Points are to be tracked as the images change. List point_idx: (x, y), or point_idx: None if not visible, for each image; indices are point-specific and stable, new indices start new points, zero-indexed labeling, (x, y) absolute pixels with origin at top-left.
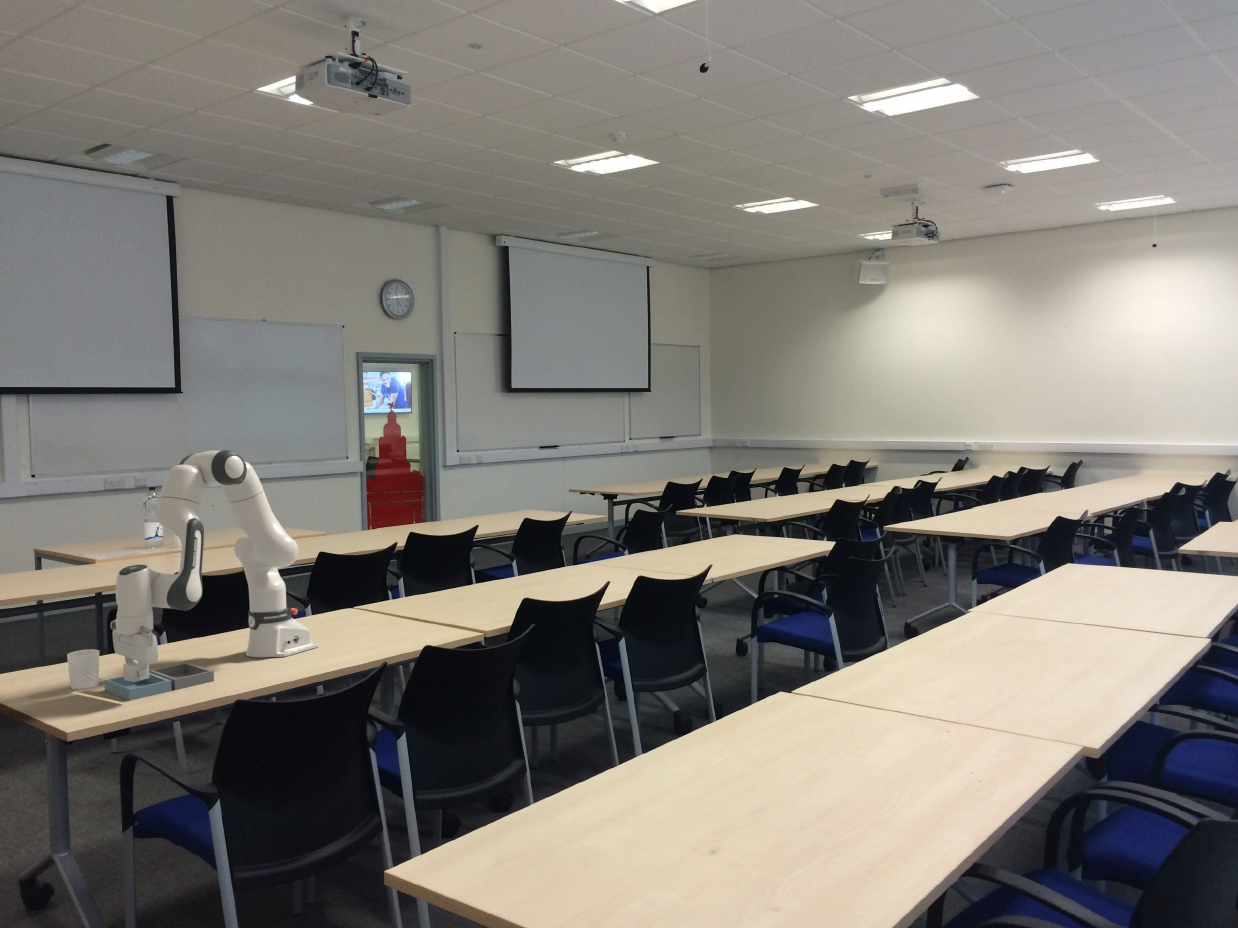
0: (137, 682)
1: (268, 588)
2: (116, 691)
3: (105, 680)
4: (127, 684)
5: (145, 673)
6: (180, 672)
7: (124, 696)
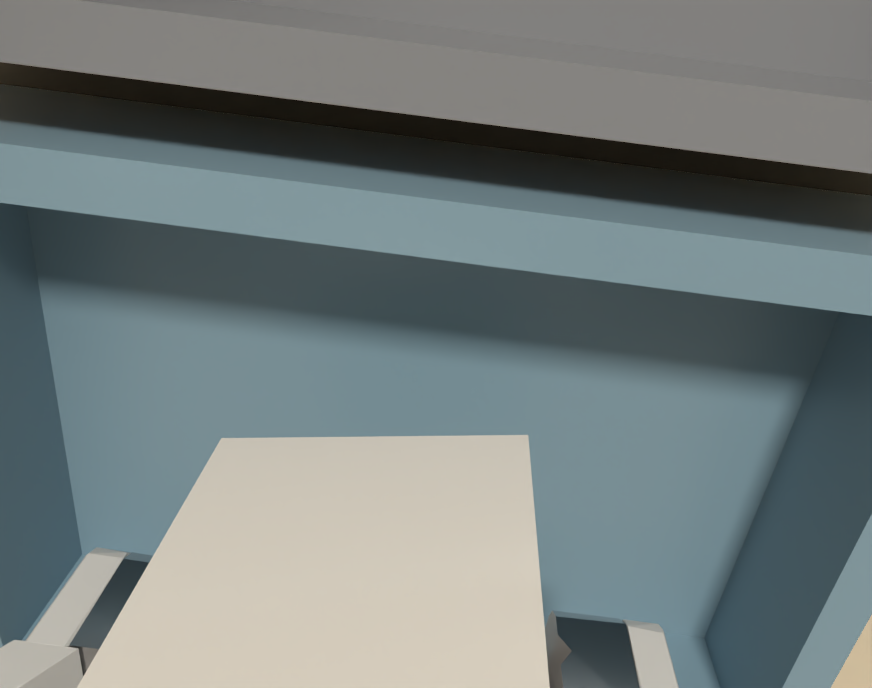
0: (19, 249)
1: None
2: None
3: None
4: (40, 382)
5: (663, 656)
6: None
7: None
